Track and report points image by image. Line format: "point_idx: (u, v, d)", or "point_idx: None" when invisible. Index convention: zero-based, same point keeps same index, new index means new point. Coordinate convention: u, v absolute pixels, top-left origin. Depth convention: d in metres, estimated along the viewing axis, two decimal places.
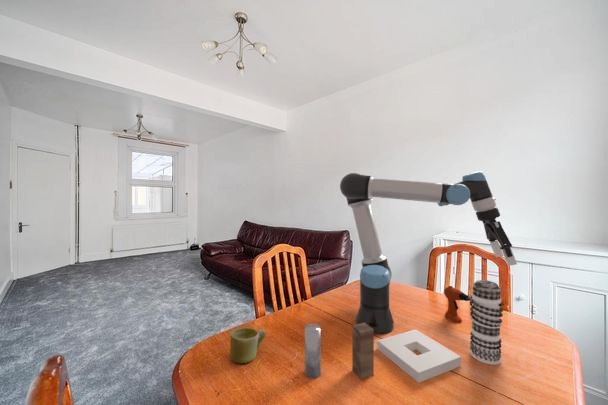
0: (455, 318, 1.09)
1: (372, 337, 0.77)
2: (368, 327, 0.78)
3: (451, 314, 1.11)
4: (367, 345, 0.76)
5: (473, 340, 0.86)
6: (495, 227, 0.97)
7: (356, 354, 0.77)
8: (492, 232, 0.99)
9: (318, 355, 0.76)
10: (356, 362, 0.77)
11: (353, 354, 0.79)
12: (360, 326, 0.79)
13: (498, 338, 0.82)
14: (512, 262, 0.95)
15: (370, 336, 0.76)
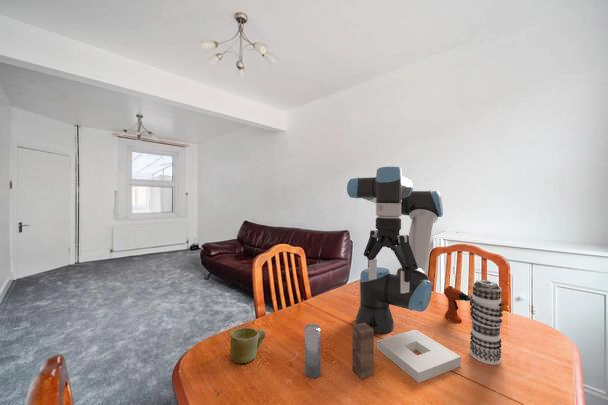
0: (455, 318, 1.09)
1: (372, 337, 0.77)
2: (368, 327, 0.78)
3: (451, 314, 1.11)
4: (367, 345, 0.76)
5: (473, 340, 0.86)
6: None
7: (356, 354, 0.77)
8: None
9: (318, 355, 0.76)
10: (356, 362, 0.77)
11: (353, 354, 0.79)
12: (360, 326, 0.79)
13: (498, 338, 0.82)
14: None
15: (370, 336, 0.76)
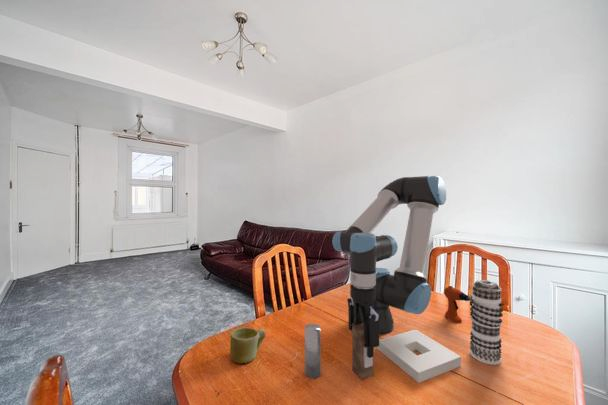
0: (455, 318, 1.09)
1: None
2: None
3: (451, 314, 1.11)
4: None
5: (473, 340, 0.86)
6: None
7: (356, 354, 0.77)
8: None
9: (318, 355, 0.76)
10: (356, 362, 0.77)
11: (353, 354, 0.79)
12: (360, 326, 0.79)
13: (498, 338, 0.82)
14: None
15: None
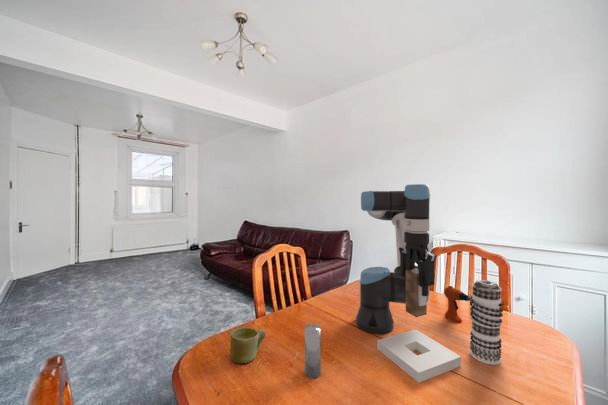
0: (455, 318, 1.09)
1: None
2: None
3: (451, 314, 1.11)
4: None
5: (473, 340, 0.86)
6: None
7: (410, 295, 0.84)
8: None
9: (318, 355, 0.76)
10: (410, 302, 0.84)
11: (406, 296, 0.86)
12: (413, 270, 0.85)
13: (498, 338, 0.82)
14: None
15: None
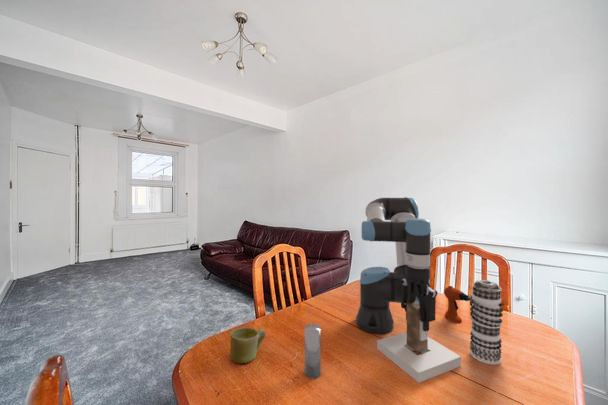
0: (455, 318, 1.09)
1: None
2: None
3: (451, 314, 1.11)
4: None
5: (473, 340, 0.86)
6: None
7: (411, 329, 0.85)
8: None
9: (318, 355, 0.76)
10: (411, 336, 0.85)
11: (407, 329, 0.86)
12: (414, 304, 0.86)
13: (498, 338, 0.82)
14: None
15: None
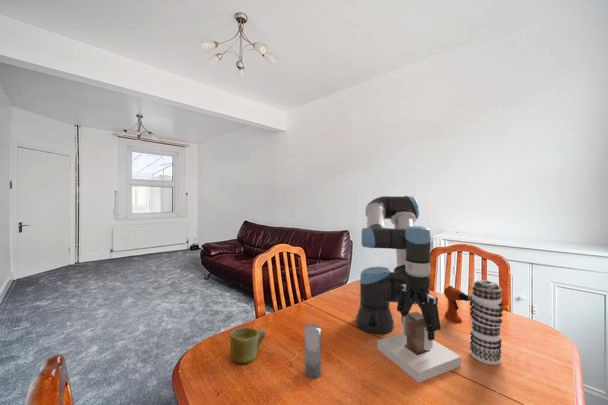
0: (455, 318, 1.09)
1: None
2: (422, 315, 0.85)
3: (451, 314, 1.11)
4: (422, 331, 0.83)
5: (473, 340, 0.86)
6: None
7: (411, 339, 0.85)
8: None
9: (318, 355, 0.76)
10: (411, 347, 0.85)
11: (407, 340, 0.87)
12: (414, 314, 0.86)
13: (498, 338, 0.82)
14: None
15: (424, 323, 0.84)
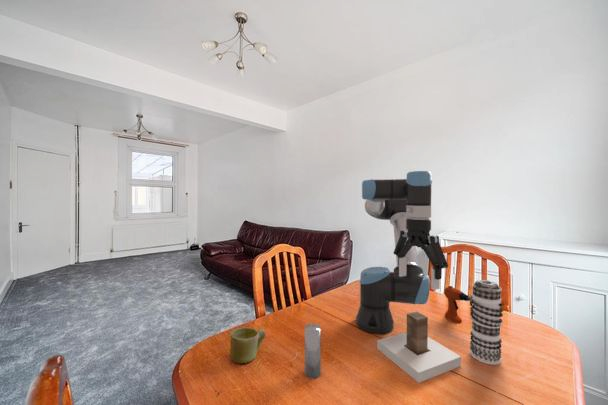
0: (455, 318, 1.09)
1: (426, 324, 0.84)
2: (422, 315, 0.85)
3: (451, 314, 1.11)
4: (422, 331, 0.83)
5: (473, 340, 0.86)
6: None
7: (411, 339, 0.85)
8: None
9: (318, 355, 0.76)
10: (411, 347, 0.85)
11: (407, 340, 0.87)
12: (414, 314, 0.86)
13: (498, 338, 0.82)
14: None
15: (424, 323, 0.84)
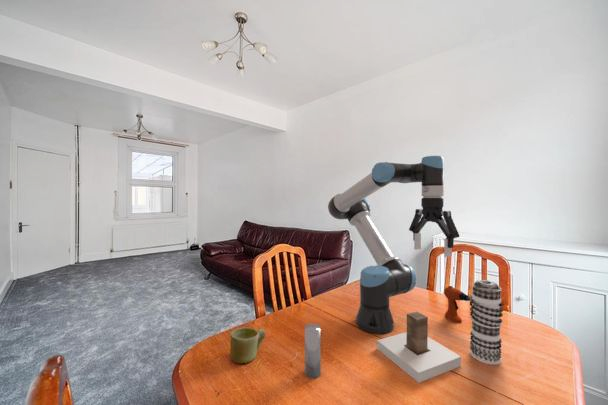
0: (455, 318, 1.09)
1: (426, 324, 0.84)
2: (422, 315, 0.85)
3: (451, 314, 1.11)
4: (422, 331, 0.83)
5: (473, 340, 0.86)
6: None
7: (411, 339, 0.85)
8: None
9: (318, 355, 0.76)
10: (411, 347, 0.85)
11: (407, 340, 0.87)
12: (414, 314, 0.86)
13: (498, 338, 0.82)
14: None
15: (424, 323, 0.84)
